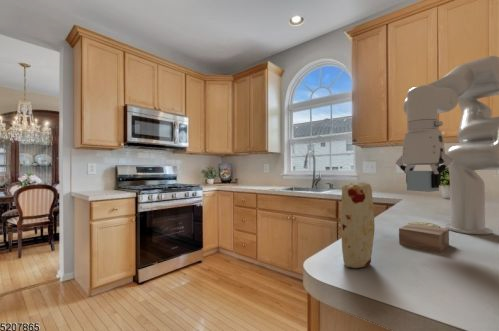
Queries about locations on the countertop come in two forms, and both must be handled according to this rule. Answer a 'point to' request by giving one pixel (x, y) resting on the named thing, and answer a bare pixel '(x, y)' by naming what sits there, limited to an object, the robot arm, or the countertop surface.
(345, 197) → the food model
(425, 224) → the decorated donut
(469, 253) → the countertop surface
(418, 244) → the walnut block
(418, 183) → the slate cube
